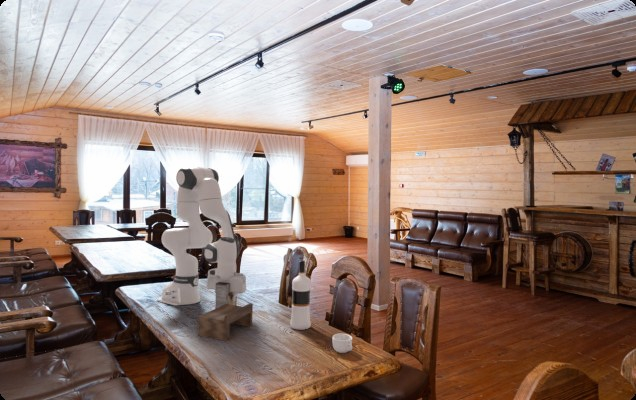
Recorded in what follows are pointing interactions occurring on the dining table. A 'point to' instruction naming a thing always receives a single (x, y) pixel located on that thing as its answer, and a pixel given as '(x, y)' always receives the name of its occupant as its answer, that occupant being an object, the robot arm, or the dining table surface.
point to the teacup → (342, 342)
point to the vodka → (301, 300)
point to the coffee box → (224, 295)
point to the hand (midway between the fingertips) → (226, 300)
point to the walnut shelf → (224, 320)
